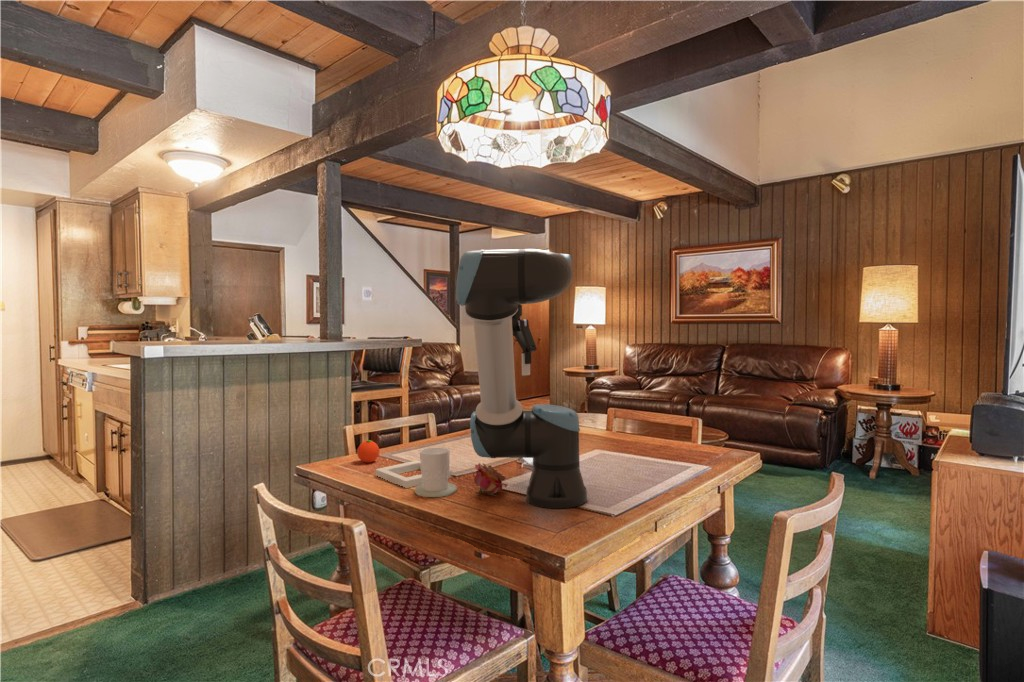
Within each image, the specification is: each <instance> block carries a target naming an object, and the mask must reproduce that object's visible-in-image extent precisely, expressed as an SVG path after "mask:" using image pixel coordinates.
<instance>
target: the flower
mask: <svg viewBox="0 0 1024 682" xmlns="http://www.w3.org/2000/svg"><path fill="white" fill-rule="evenodd" d="M474 467H475V469H476V471H475V472H476V473H474V472H472V474H473V483H474V484H475V486H477V487H479V490H478V491H477V492H476V495H478V496H480V495H481V494H482V493H484V494H486V493H487V495H489V496H495V497H496V496H497V493H499V492H501V491H502V490H503V486H504V487H505V488H507V487H508V486H509V484H508V483H505V482H503V481H505V480H506V476H504V475H503V473H501V472H499V471H498V470H497V469H495V468H494V467H493V466H491V464H490V465H488V466H487V465H486V464H485V463H482V464H481V463H480V462H479V463H478V464H475V465H474Z"/></svg>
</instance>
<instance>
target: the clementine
mask: <svg viewBox="0 0 1024 682" xmlns="http://www.w3.org/2000/svg"><path fill="white" fill-rule="evenodd" d="M356 452H357V453H356V455H357V457H358V459H359V460H360V461H362V462H363V463H367V464H368V463H373V462H374V461H376V460H377V459H378V457H379V455H380V447H379V446H378V444H377V443H376V442H374V441H373V440H372V439H371V440H364V441H363V442H361V443H360V444H359V446H358V447H357V451H356Z"/></svg>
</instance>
